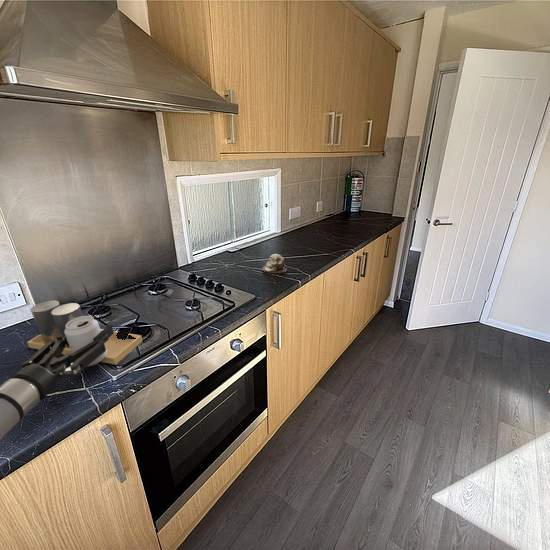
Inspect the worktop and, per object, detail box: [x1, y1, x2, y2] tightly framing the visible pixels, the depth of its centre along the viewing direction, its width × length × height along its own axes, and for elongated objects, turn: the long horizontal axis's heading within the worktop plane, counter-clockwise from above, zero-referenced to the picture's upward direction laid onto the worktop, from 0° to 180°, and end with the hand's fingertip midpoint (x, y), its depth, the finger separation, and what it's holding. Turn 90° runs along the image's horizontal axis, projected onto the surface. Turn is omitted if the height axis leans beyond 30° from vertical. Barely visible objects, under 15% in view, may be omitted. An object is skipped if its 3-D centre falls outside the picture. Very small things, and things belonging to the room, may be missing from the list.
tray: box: [26, 328, 143, 366], centre depth 90 cm, size 32×11×2 cm, turn 74°
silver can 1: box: [30, 299, 61, 344], centre depth 91 cm, size 7×7×12 cm
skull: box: [261, 253, 288, 275], centre depth 142 cm, size 12×10×10 cm
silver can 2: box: [51, 302, 84, 349], centre depth 89 cm, size 7×7×12 cm
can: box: [64, 315, 107, 367], centre depth 77 cm, size 8×8×12 cm
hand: (97, 328), depth 81 cm, fingers closed on can, 7 cm apart
